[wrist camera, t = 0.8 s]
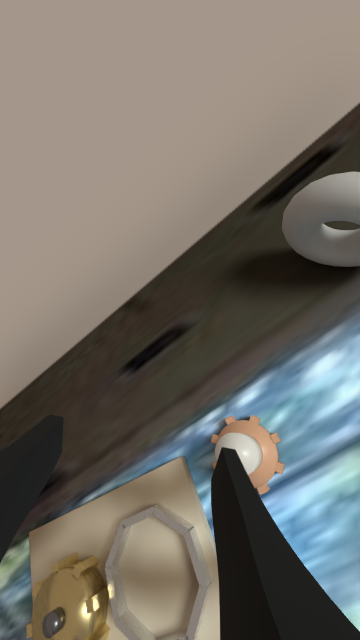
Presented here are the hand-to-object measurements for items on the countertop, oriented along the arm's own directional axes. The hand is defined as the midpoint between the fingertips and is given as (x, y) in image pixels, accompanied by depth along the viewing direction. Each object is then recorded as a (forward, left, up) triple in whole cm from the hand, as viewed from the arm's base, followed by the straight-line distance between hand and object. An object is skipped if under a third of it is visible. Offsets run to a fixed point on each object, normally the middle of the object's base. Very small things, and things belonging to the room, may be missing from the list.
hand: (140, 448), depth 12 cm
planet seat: (-6, +9, -15) cm, 19 cm away
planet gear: (-1, -1, -15) cm, 15 cm away
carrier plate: (-6, +14, -15) cm, 22 cm away
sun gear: (-6, +18, -15) cm, 24 cm away
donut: (+11, -18, -15) cm, 26 cm away
